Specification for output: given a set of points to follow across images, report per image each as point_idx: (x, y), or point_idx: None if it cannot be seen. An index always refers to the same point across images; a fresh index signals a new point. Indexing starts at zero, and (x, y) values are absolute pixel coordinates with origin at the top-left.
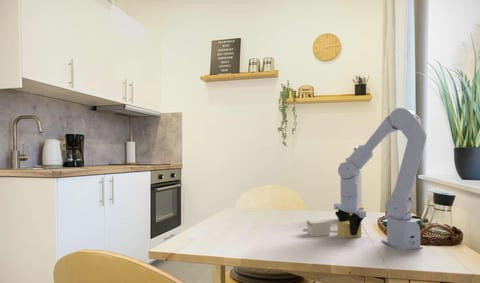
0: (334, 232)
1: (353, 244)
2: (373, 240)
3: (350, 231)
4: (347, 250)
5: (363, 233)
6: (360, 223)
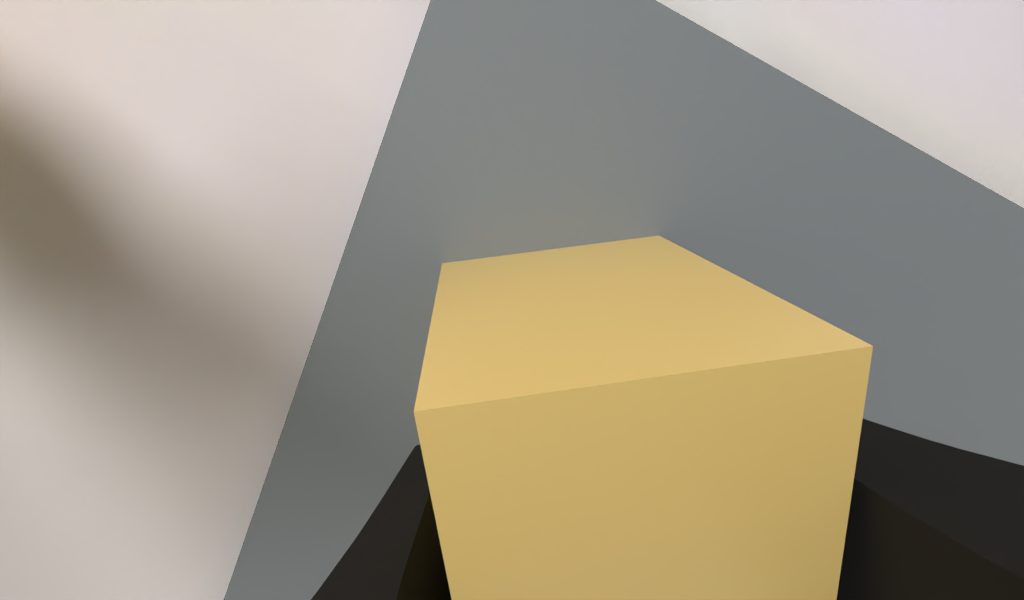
0: (326, 559)
1: None
2: (809, 54)
3: None
4: None
5: (425, 45)
6: (867, 372)
